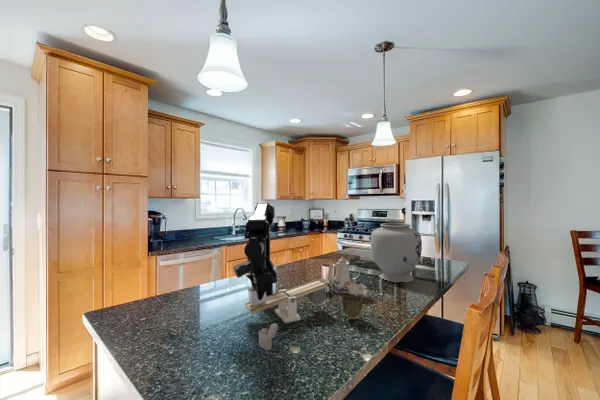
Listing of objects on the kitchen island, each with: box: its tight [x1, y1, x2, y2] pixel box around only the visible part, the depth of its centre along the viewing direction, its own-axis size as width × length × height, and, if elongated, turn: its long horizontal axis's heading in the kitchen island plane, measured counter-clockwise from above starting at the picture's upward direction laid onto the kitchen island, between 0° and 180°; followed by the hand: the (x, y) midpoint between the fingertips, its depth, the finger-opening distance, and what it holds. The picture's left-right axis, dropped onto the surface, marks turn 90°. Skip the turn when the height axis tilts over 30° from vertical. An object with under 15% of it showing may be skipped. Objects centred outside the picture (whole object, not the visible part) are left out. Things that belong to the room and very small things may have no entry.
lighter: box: [258, 322, 279, 351], centre depth 83 cm, size 7×2×8 cm, turn 45°
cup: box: [341, 293, 364, 321], centre depth 103 cm, size 8×7×8 cm
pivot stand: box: [274, 288, 302, 324], centre depth 107 cm, size 12×6×8 cm, turn 25°
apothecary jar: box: [370, 222, 423, 283], centre depth 157 cm, size 27×27×30 cm
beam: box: [244, 279, 328, 315], centre depth 107 cm, size 7×30×6 cm, turn 115°
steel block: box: [247, 286, 267, 306], centre depth 102 cm, size 5×5×5 cm
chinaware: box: [311, 256, 371, 298], centre depth 133 cm, size 28×17×17 cm, turn 68°
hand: (257, 297), depth 102 cm, fingers closed on steel block, 5 cm apart
